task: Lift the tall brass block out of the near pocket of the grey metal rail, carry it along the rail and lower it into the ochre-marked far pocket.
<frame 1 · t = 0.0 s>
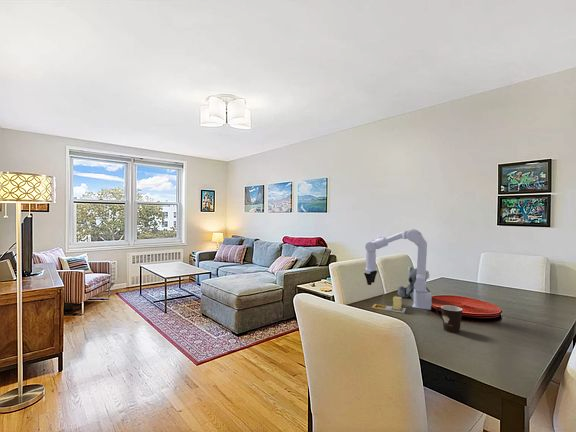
hand: (370, 283, 187), 10 cm above the table, tool pointing down, fingers open, 7 cm apart
rail: (388, 309, 169), on the table
brass block: (397, 310, 167), resting in rail
coffee mug: (449, 329, 140), on the table
koala plush: (416, 298, 192), on the table
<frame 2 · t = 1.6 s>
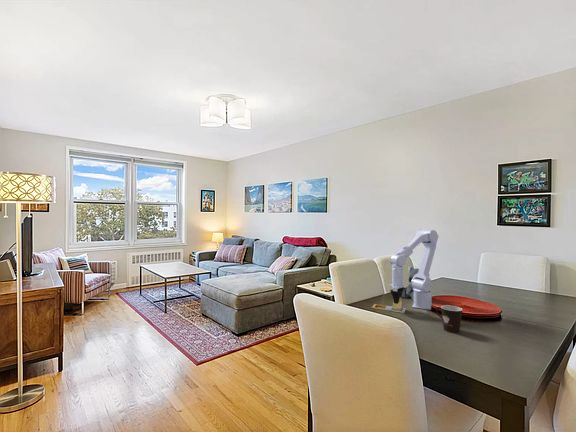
hand: (397, 301, 167), 5 cm above the table, tool pointing down, fingers open, 7 cm apart
nothing on the table moved.
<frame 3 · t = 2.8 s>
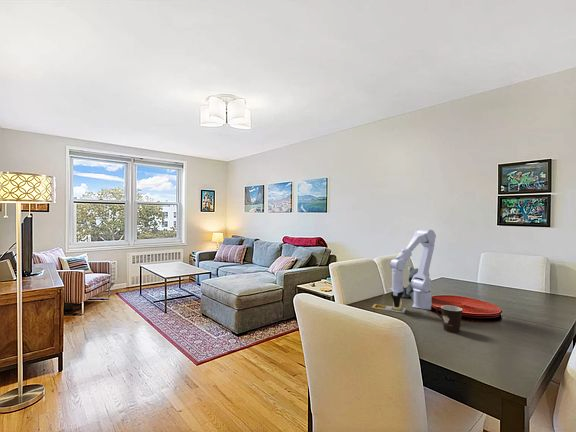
hand: (397, 305, 167), 2 cm above the table, tool pointing down, fingers closed on brass block, 4 cm apart
brass block: (397, 310, 167), resting in rail, touching gripper
everything else where it was.
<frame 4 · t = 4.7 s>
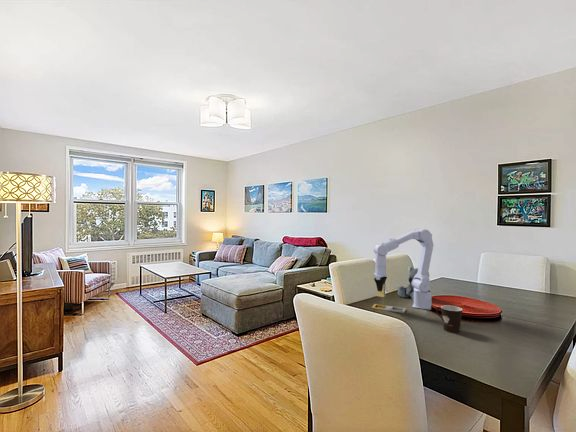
hand: (380, 290, 171), 10 cm above the table, tool pointing down, fingers closed on brass block, 4 cm apart
brass block: (380, 295, 171), point 7 cm above the table, touching gripper
everything else where it was.
when the fingers open (3 cm above the table, at t = 6.8 s): brass block stays where it is, resting in rail.
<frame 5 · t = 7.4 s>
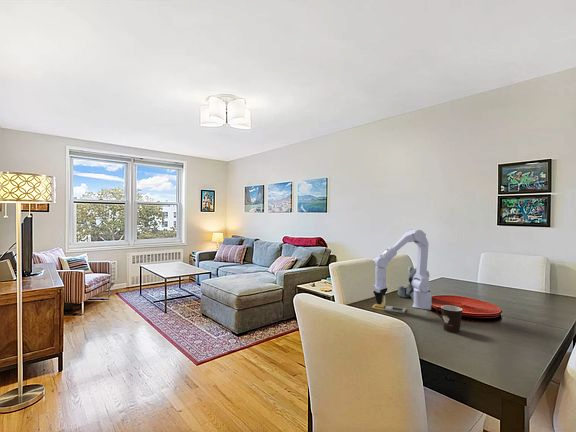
hand: (380, 302, 171), 3 cm above the table, tool pointing down, fingers open, 7 cm apart
brass block: (380, 308, 171), resting in rail
everything else where it was.
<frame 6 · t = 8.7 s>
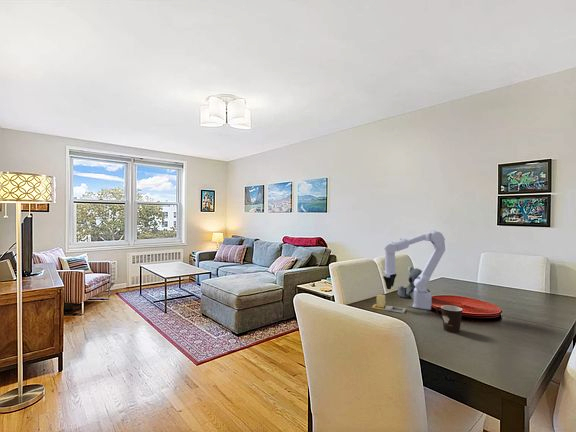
hand: (390, 287, 177), 10 cm above the table, tool pointing down, fingers open, 7 cm apart
nothing on the table moved.
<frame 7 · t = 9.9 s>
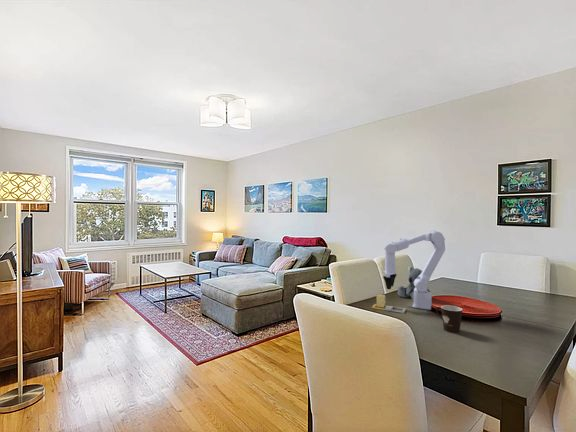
hand: (390, 287, 177), 10 cm above the table, tool pointing down, fingers open, 7 cm apart
nothing on the table moved.
at the end: brass block 0.2 cm from the target spot on the rail, point 0.0 cm above the rail's base; brass block tilted 0°; the gripper is holding nothing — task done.
